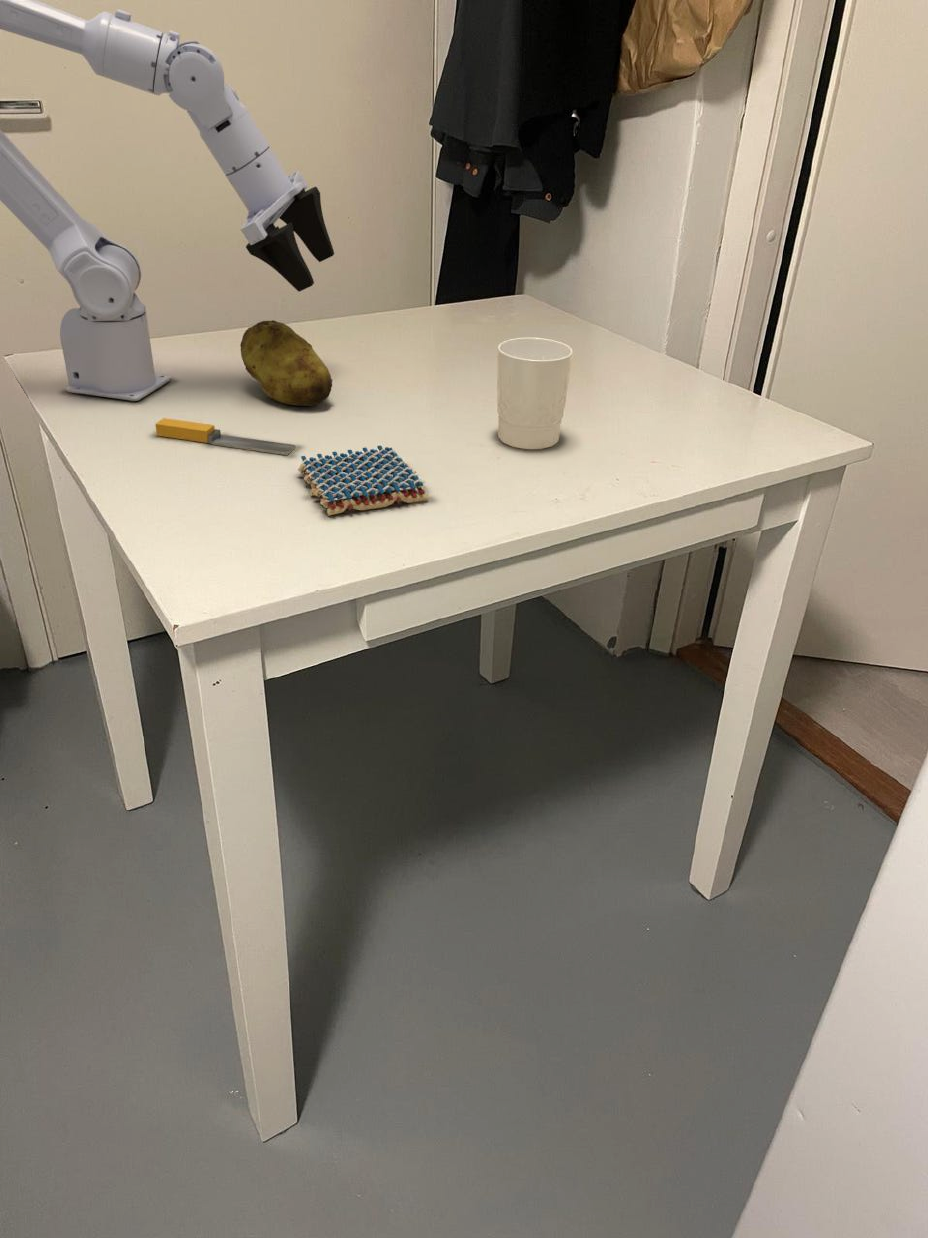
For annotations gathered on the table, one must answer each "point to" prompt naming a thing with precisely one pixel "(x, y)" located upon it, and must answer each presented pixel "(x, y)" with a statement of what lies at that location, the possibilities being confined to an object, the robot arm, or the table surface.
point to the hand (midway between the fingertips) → (317, 272)
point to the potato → (285, 364)
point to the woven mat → (362, 480)
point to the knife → (216, 436)
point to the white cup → (532, 391)
